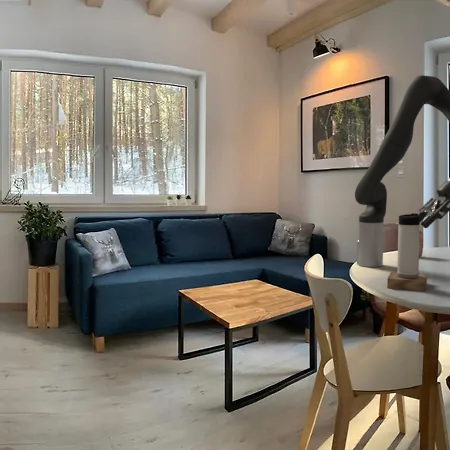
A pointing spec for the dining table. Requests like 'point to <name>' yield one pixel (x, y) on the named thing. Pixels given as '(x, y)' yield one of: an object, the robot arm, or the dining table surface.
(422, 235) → the soda can
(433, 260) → the dining table surface
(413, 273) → the travel mug
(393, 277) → the walnut stand
